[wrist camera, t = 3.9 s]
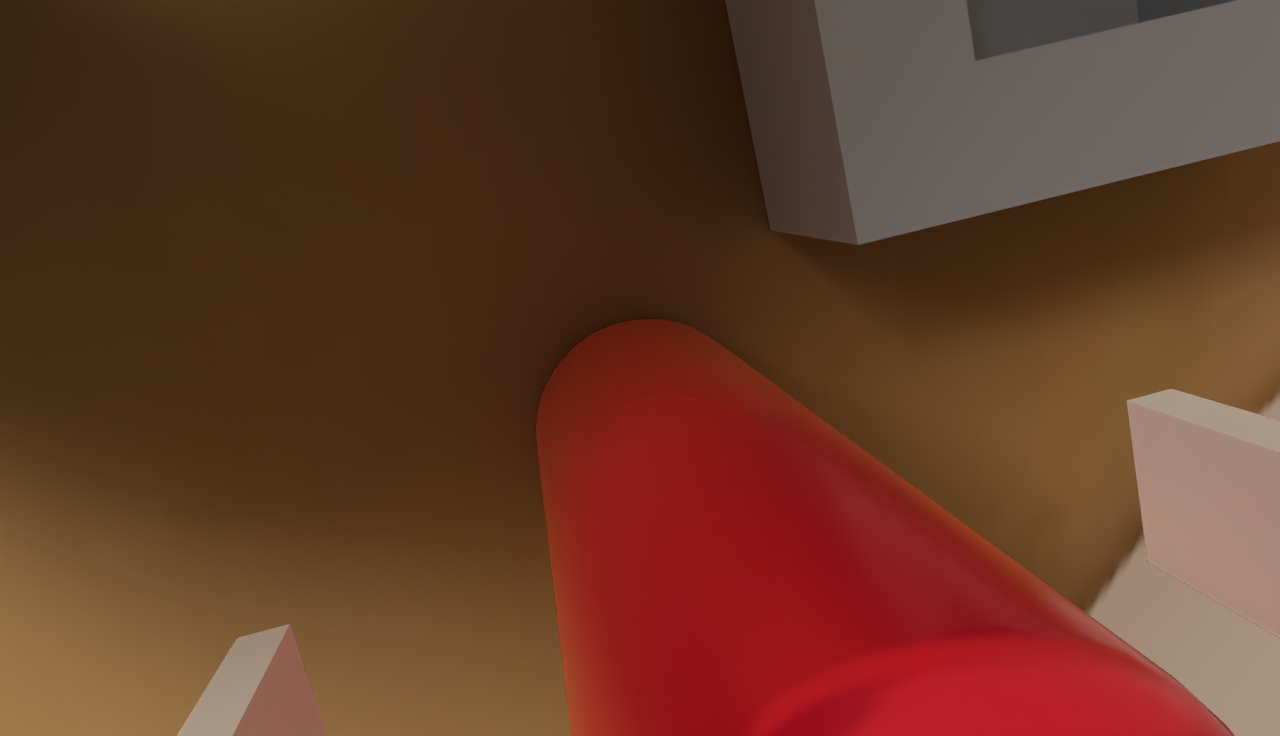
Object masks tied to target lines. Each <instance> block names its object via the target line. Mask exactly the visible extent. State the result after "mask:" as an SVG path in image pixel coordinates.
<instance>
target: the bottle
mask: <svg viewBox="0 0 1280 736" xmlns="http://www.w3.org/2000/svg"><path fill="white" fill-rule="evenodd" d="M536 438H537V451H538V459H539V468H540V476H541V485H542V493H543V502H544V510H545V519H546V527H547V536H548V544H549V553H550V561H551V570H552V578H553V587H554V595H555V604H556V612H557V620H558V629H559V637H560V646H561V654H562V663H563V671H564V680H565V688H566V697H567V705H568V714H569V722H570V731H571V736H1234V734H1233V733H1232V732H1231V731H1230V729H1229V728H1228V727H1227V726H1226V725H1225V724H1224V723H1223V722H1222V721H1221V720H1220V719H1219V718H1218V717H1217V716H1216V715H1214V714H1213V713H1212V712H1211V711H1210V710H1209V709H1208V708H1207V707H1206V706H1205V705H1204V704H1203V703H1201V702H1200V701H1199V700H1198V699H1197V698H1196V697H1195V696H1194V695H1193V694H1192V693H1191V692H1190V691H1189V690H1187V689H1186V688H1185V687H1184V686H1183V685H1182V684H1181V683H1180V682H1178V680H1176V679H1175V678H1174V677H1173V676H1171V675H1170V674H1168V673H1167V672H1166V671H1164V670H1163V669H1162V668H1160V667H1159V666H1158V665H1156V664H1155V663H1154V662H1152V661H1151V660H1150V659H1148V658H1147V657H1145V656H1144V655H1143V654H1141V653H1140V652H1139V651H1137V650H1136V649H1134V648H1133V647H1132V646H1130V645H1129V644H1128V643H1126V642H1125V641H1123V640H1122V639H1121V638H1119V637H1118V636H1117V635H1115V634H1114V633H1113V632H1111V631H1110V630H1109V629H1107V628H1106V627H1105V626H1103V625H1102V624H1100V623H1099V622H1098V621H1096V620H1095V619H1094V618H1092V617H1091V616H1090V615H1088V614H1087V613H1086V612H1084V611H1083V610H1081V609H1080V608H1079V607H1077V606H1076V605H1075V604H1073V603H1072V602H1071V601H1069V600H1068V599H1066V598H1065V597H1064V596H1062V595H1061V594H1060V593H1058V592H1057V591H1056V590H1054V589H1053V588H1051V587H1050V586H1049V585H1047V584H1046V583H1045V582H1043V581H1042V580H1041V579H1039V578H1038V577H1037V576H1035V575H1034V574H1032V573H1031V572H1030V571H1028V570H1027V569H1026V568H1024V567H1023V566H1022V565H1020V564H1019V563H1017V562H1016V561H1015V560H1013V559H1012V558H1011V557H1009V556H1008V555H1007V554H1005V553H1004V552H1002V551H1001V550H1000V549H998V548H997V547H996V546H994V545H993V544H992V543H990V542H989V541H987V540H986V539H985V538H983V537H982V536H981V535H979V534H978V533H977V532H975V531H974V530H973V529H971V528H970V527H968V526H967V525H966V524H964V523H963V522H962V521H960V520H959V519H958V518H956V517H955V516H953V515H952V514H951V513H949V512H948V511H947V510H945V509H944V508H943V507H941V506H940V505H938V504H937V503H936V502H934V501H933V500H932V499H930V498H929V497H928V496H926V495H925V494H924V493H922V492H921V491H919V490H918V489H917V488H915V487H914V486H913V485H911V484H910V483H909V482H907V481H906V480H904V479H903V478H902V477H900V476H899V475H898V474H896V473H895V472H894V471H892V470H891V469H889V468H888V467H887V466H885V465H884V464H883V463H881V462H880V461H879V460H877V459H876V458H875V457H873V456H872V455H870V454H869V453H868V452H866V451H865V450H864V449H862V448H861V447H860V446H858V445H857V444H855V443H854V442H853V441H851V440H850V439H849V438H847V437H846V436H845V435H843V434H842V433H840V432H839V431H838V430H836V429H835V428H834V427H832V426H831V425H830V424H828V423H827V422H825V421H824V420H823V419H821V418H820V417H819V416H817V415H816V414H815V413H813V412H812V411H811V410H809V409H808V408H806V407H805V406H804V405H802V404H801V403H800V402H798V401H797V400H796V399H794V398H793V397H791V396H790V395H789V394H787V393H786V392H785V391H783V390H782V389H781V388H779V387H778V386H776V385H775V384H774V383H772V382H771V381H770V380H768V379H767V378H766V377H764V376H763V375H762V374H760V373H759V372H757V371H756V370H755V369H753V368H752V367H751V366H749V365H748V364H747V363H745V362H744V361H742V360H741V359H740V358H738V357H737V356H736V355H734V354H733V353H732V352H730V351H729V350H727V349H726V348H725V347H723V346H722V345H721V344H719V343H718V342H717V341H715V340H714V339H712V338H711V337H709V336H707V335H705V334H704V333H702V332H700V331H699V330H697V329H695V328H693V327H690V326H687V325H684V324H681V323H678V322H675V321H668V320H660V319H653V318H652V319H638V320H629V321H625V322H621V323H618V324H614V325H610V326H608V327H606V328H604V329H602V330H600V331H598V332H596V333H594V334H592V335H590V336H588V337H587V338H585V339H584V340H583V341H582V342H580V343H579V344H578V345H576V346H575V347H574V348H572V349H571V350H570V351H569V353H568V354H567V355H566V356H565V357H564V358H563V359H562V360H561V362H560V363H559V364H558V365H557V366H556V368H555V370H554V371H553V373H552V375H551V377H550V378H549V380H548V382H547V383H546V385H545V388H544V391H543V394H542V397H541V400H540V403H539V406H538V413H537V421H536Z"/></svg>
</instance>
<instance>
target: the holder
mask: <svg viewBox="0 0 1280 736" xmlns="http://www.w3.org/2000/svg"><path fill="white" fill-rule="evenodd" d="M725 3H726V8H727V13H728V18H729V23H730V28H731V33H732V38H733V43H734V48H735V53H736V58H737V63H738V68H739V74H740V79H741V84H742V89H743V94H744V99H745V104H746V109H747V114H748V119H749V124H750V129H751V134H752V139H753V144H754V149H755V154H756V159H757V165H758V170H759V175H760V180H761V185H762V190H763V195H764V200H765V205H766V210H767V215H768V220H769V225H770V230H771V231H776V232H782V233H788V234H794V235H800V236H806V237H812V238H818V239H824V240H830V241H836V242H842V243H848V244H854V245H861V244H865V243H869V242H873V241H877V240H881V239H885V238H889V237H893V236H897V235H901V234H905V233H909V232H913V231H918V230H922V229H926V228H930V227H934V226H938V225H942V224H946V223H950V222H954V221H958V220H962V219H966V218H970V217H974V216H978V215H983V214H987V213H991V212H995V211H999V210H1003V209H1007V208H1011V207H1015V206H1019V205H1023V204H1027V203H1031V202H1035V201H1039V200H1043V199H1048V198H1052V197H1056V196H1060V195H1064V194H1068V193H1072V192H1076V191H1080V190H1084V189H1088V188H1092V187H1096V186H1100V185H1104V184H1108V183H1113V182H1117V181H1121V180H1125V179H1129V178H1133V177H1137V176H1141V175H1145V174H1149V173H1153V172H1157V171H1161V170H1165V169H1169V168H1173V167H1178V166H1182V165H1186V164H1190V163H1194V162H1198V161H1202V160H1206V159H1210V158H1214V157H1218V156H1222V155H1226V154H1230V153H1234V152H1238V151H1242V150H1247V149H1251V148H1255V147H1259V146H1263V145H1267V144H1271V143H1275V142H1279V141H1280V0H725Z"/></svg>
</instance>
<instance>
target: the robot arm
mask: <svg viewBox="0 0 1280 736" xmlns="http://www.w3.org/2000/svg"><path fill="white" fill-rule="evenodd" d="M1127 408H1128V416H1129V423H1130V431H1131V439H1132V446H1133V454H1134V462H1135V470H1136V477H1137V485H1138V493H1139V500H1140V508H1141V516H1142V524H1143V531H1144V539H1145V547H1146V553H1147V562H1149V563H1150V564H1152V565H1154V566H1155V567H1157V568H1159V569H1161V570H1162V571H1164V572H1166V573H1167V574H1169V575H1171V576H1173V577H1174V578H1176V579H1178V580H1180V581H1181V582H1183V583H1185V584H1187V585H1188V586H1190V587H1192V588H1194V589H1195V590H1197V591H1199V592H1200V593H1202V594H1204V595H1206V596H1207V597H1209V598H1211V599H1213V600H1214V601H1216V602H1218V603H1219V604H1221V605H1223V606H1225V607H1226V608H1228V609H1230V610H1231V611H1233V612H1235V613H1237V614H1238V615H1240V616H1242V617H1243V618H1245V619H1247V620H1249V621H1250V622H1252V623H1254V624H1256V625H1258V626H1259V627H1261V628H1263V629H1264V630H1266V631H1268V632H1269V633H1271V634H1273V635H1275V636H1277V637H1278V638H1280V421H1279V420H1276V419H1273V418H1269V417H1266V416H1262V415H1259V414H1256V413H1252V412H1249V411H1245V410H1242V409H1239V408H1235V407H1232V406H1229V405H1225V404H1222V403H1218V402H1215V401H1212V400H1208V399H1205V398H1201V397H1198V396H1195V395H1191V394H1188V393H1185V392H1181V391H1178V390H1174V389H1169V390H1165V391H1161V392H1157V393H1154V394H1150V395H1146V396H1142V397H1139V398H1135V399H1131V400H1127ZM177 736H327V735H326V732H325V729H324V726H323V723H322V720H321V717H320V714H319V711H318V708H317V705H316V702H315V699H314V696H313V693H312V690H311V686H310V683H309V680H308V677H307V674H306V671H305V668H304V665H303V662H302V659H301V656H300V653H299V650H298V647H297V644H296V641H295V638H294V634H293V631H292V628H291V625H290V624H287V625H283V626H279V627H276V628H272V629H268V630H264V631H261V632H257V633H253V634H249V635H246V636H242V637H238V638H237V639H236V640H235V642H234V644H233V645H232V647H231V648H230V650H229V652H228V653H227V655H226V657H225V658H224V660H223V661H222V663H221V665H220V666H219V668H218V670H217V671H216V673H215V674H214V676H213V678H212V679H211V681H210V683H209V684H208V686H207V687H206V689H205V691H204V692H203V694H202V696H201V697H200V699H199V700H198V702H197V704H196V705H195V707H194V709H193V710H192V712H191V713H190V715H189V717H188V718H187V720H186V722H185V723H184V725H183V726H182V728H181V730H180V731H179V733H178V735H177Z"/></svg>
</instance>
